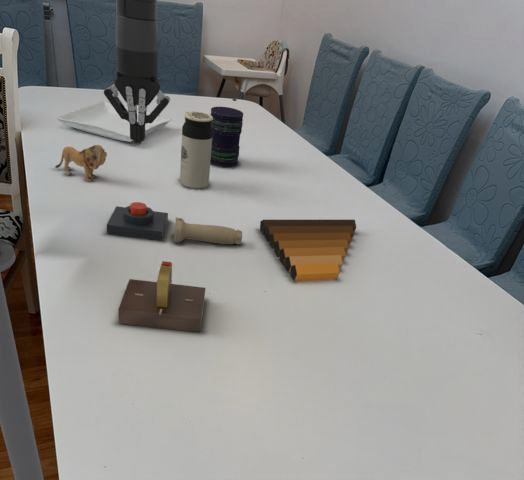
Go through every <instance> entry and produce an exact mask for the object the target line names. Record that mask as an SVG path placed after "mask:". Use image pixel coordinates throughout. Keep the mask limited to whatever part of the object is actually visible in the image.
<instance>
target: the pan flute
mask: <svg viewBox="0 0 524 480" xmlns="http://www.w3.org/2000/svg"><path fill="white" fill-rule="evenodd" d="M259 224H260V225H259V232H260V233H261V234H262V236H264V239H265V240H266V242H268V244H269V246H270V248H271V249H272V250H273V252H274V253H275V254H274V255H276V257H279V261H280V263H281V264H282V265H284V269H285V270H286V272H287V273H289V274H290V278H291V279H292V281H293V282H313V281H315V282H316V281H334V280H337V279H338V276H339V275H340V271H341V269H342V267H343V266H344V265H343V264H344V260H345V258H346V257H347V253H348V251H349V249H350V247H349V246H350V245H351V243H352V239H353V237H354V235H355V232H356V229H357V223H356V219H262V220H260V222H259Z"/></svg>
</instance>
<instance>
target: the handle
mask: <svg viewBox="0 0 524 480" xmlns="http://www.w3.org/2000/svg"><path fill="white" fill-rule="evenodd" d="M174 222H175V223H174V235H173V240H174V241H173V242H174V243H181V242H182V241H183V240H184V239H189V240H194V241H201V242H206V243H213V244H219V245H241V244H242V242H243V231H242V230H240V229H235V228H232V227H229V226H228V227H227V226H223V225H215V224H214V225H212V224H198V223H188V222H185V219H184V218H182V217H178V216H177V217H175V221H174Z"/></svg>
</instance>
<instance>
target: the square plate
mask: <svg viewBox="0 0 524 480" xmlns="http://www.w3.org/2000/svg"><path fill="white" fill-rule="evenodd" d="M124 107H125V108H126V109H127V111H128V107H127V105H124ZM150 113H151V111H150V112H149V111H147V112H146V115H150ZM137 118H138V108H137ZM56 120H58V121H59V122H60V123H62V124H63V125H65V126H66V127H69V128H73V129H77V130H79V131H82V132H84V133H89V134H93V135H96V136H101V137H103V138H109V139H112V140H116V141H121V142H128V143H131V142H133V140H131V138H130V123H129V122H128V121H127V120H125V119H121V117H120V116H119V115H118V113H117V112H116V110H115V109H114V107H113V106H112V105H111V103H110V102H109V101H108V102H107V101H101V102H97V103H94V104H91V105H87V106H83V107H82V108H81V107H80V108H78V109H75V110H73V111H70V112H67V113H64V114H62V115H60V116H57V117H56ZM172 120H173V118H172V117H171V118H170V117H167V116H165V115H160V114H159V115H158V117H157V118H156V119H155V120H154V121H153V122H152V123H147V124H145V136H146V135H147V134H150V133H152V132H154V131H157V130H159V129H161V128H163V127H165V126H167V125H168V124H169V122H171V121H172ZM137 122H138V119H137Z"/></svg>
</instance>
